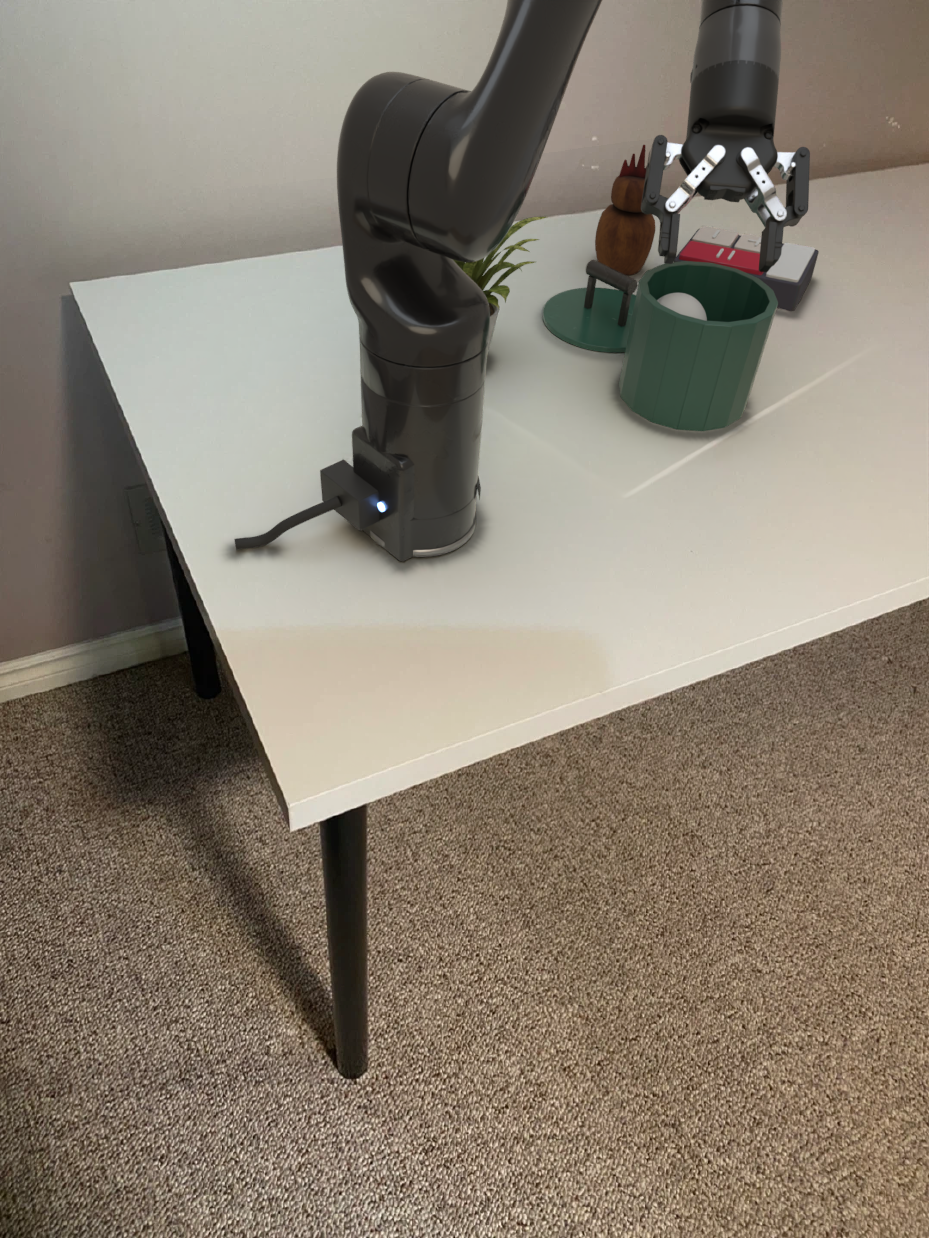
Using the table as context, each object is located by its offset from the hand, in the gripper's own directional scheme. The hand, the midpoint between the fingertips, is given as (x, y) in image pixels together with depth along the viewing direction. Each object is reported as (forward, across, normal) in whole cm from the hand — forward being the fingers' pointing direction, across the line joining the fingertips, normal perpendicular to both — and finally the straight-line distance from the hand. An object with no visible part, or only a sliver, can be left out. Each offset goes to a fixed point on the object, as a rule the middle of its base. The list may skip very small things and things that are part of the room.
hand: (718, 265), depth 82 cm
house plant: (+7, -21, +14) cm, 26 cm away
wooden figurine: (-11, -5, +31) cm, 33 cm away
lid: (-1, -7, +21) cm, 22 cm away
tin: (+9, 0, +11) cm, 15 cm away
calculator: (-10, +10, +31) cm, 34 cm away
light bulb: (+9, 0, +11) cm, 14 cm away
